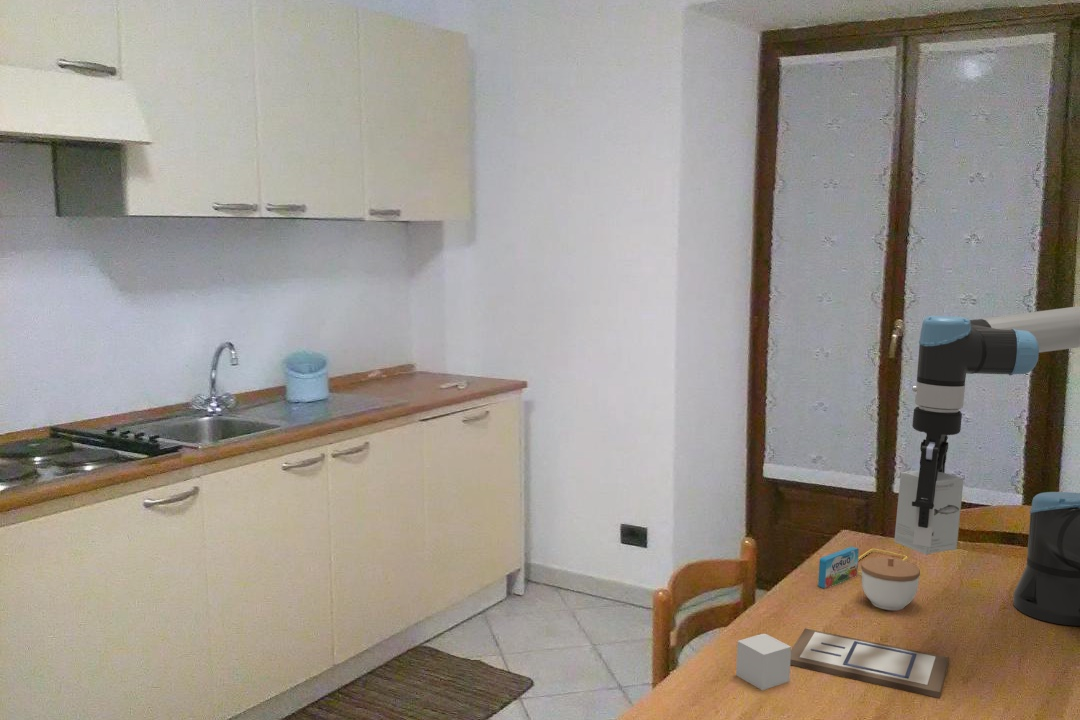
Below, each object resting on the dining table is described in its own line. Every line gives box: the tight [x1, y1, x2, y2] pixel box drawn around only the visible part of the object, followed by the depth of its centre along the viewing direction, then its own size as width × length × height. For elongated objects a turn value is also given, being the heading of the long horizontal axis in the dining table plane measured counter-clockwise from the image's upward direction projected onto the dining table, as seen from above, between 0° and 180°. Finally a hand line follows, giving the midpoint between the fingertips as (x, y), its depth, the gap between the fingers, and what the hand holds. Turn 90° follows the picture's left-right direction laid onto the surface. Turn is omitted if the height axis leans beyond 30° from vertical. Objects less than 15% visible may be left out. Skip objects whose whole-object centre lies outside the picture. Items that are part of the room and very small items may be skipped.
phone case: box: [857, 548, 908, 576], centre depth 210 cm, size 8×17×1 cm, turn 141°
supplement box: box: [893, 469, 964, 556], centre depth 165 cm, size 7×7×13 cm
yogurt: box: [817, 546, 860, 589], centre depth 200 cm, size 12×2×6 cm, turn 130°
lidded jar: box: [860, 556, 921, 611], centre depth 188 cm, size 11×11×9 cm
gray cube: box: [735, 632, 792, 691], centre depth 156 cm, size 6×6×6 cm
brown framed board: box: [790, 627, 950, 699], centre depth 162 cm, size 24×14×1 cm, turn 62°
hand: (926, 536), depth 165 cm, fingers closed on supplement box, 10 cm apart
